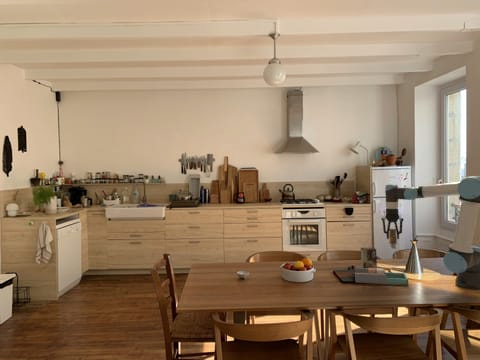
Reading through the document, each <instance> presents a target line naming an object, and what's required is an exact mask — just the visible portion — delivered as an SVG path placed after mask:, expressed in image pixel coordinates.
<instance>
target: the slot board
mask: <svg viewBox="0 0 480 360" xmlns="http://www.w3.org/2000/svg"><path fill="white" fill-rule="evenodd" d="M383 269H384V274H377V269H375V274H368V268H361V267H354V282H355V283H360V284H361V283H363V284H376V285H377V284H379V285H388V284H387V281H386V274H385V272H386V271H385V270H386V269H385V268H383Z"/></svg>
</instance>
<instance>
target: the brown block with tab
mask: <svg viewBox="0 0 480 360" xmlns="http://www.w3.org/2000/svg"><path fill="white" fill-rule="evenodd" d="M389 234H390V244H389V245H390V248H391V250H392V249H397V245H396V234H397V233H396V228H390V230H389Z"/></svg>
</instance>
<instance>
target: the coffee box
mask: <svg viewBox="0 0 480 360" xmlns="http://www.w3.org/2000/svg"><path fill="white" fill-rule="evenodd" d="M377 257H378V256H377V249H376V248H375V247H373V246H372V247H370V246H369V247H360V262H361V266H360V268H375V269H377V268H378V265H377V264H378V263H377V261H378V260H377Z"/></svg>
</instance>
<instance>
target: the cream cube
mask: <svg viewBox="0 0 480 360" xmlns="http://www.w3.org/2000/svg"><path fill="white" fill-rule="evenodd" d="M384 269H385V268H380V267H379V268H378V267H377V274H384Z"/></svg>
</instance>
